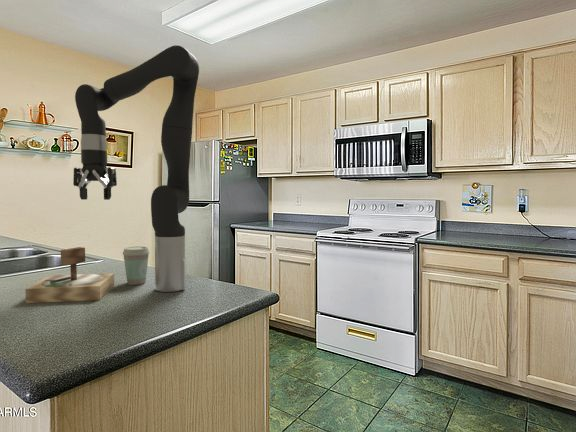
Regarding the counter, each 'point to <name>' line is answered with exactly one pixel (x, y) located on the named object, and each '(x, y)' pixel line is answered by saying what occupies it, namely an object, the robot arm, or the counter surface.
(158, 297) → the counter surface
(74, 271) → the key
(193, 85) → the robot arm
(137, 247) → the coffee cup
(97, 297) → the dial board
